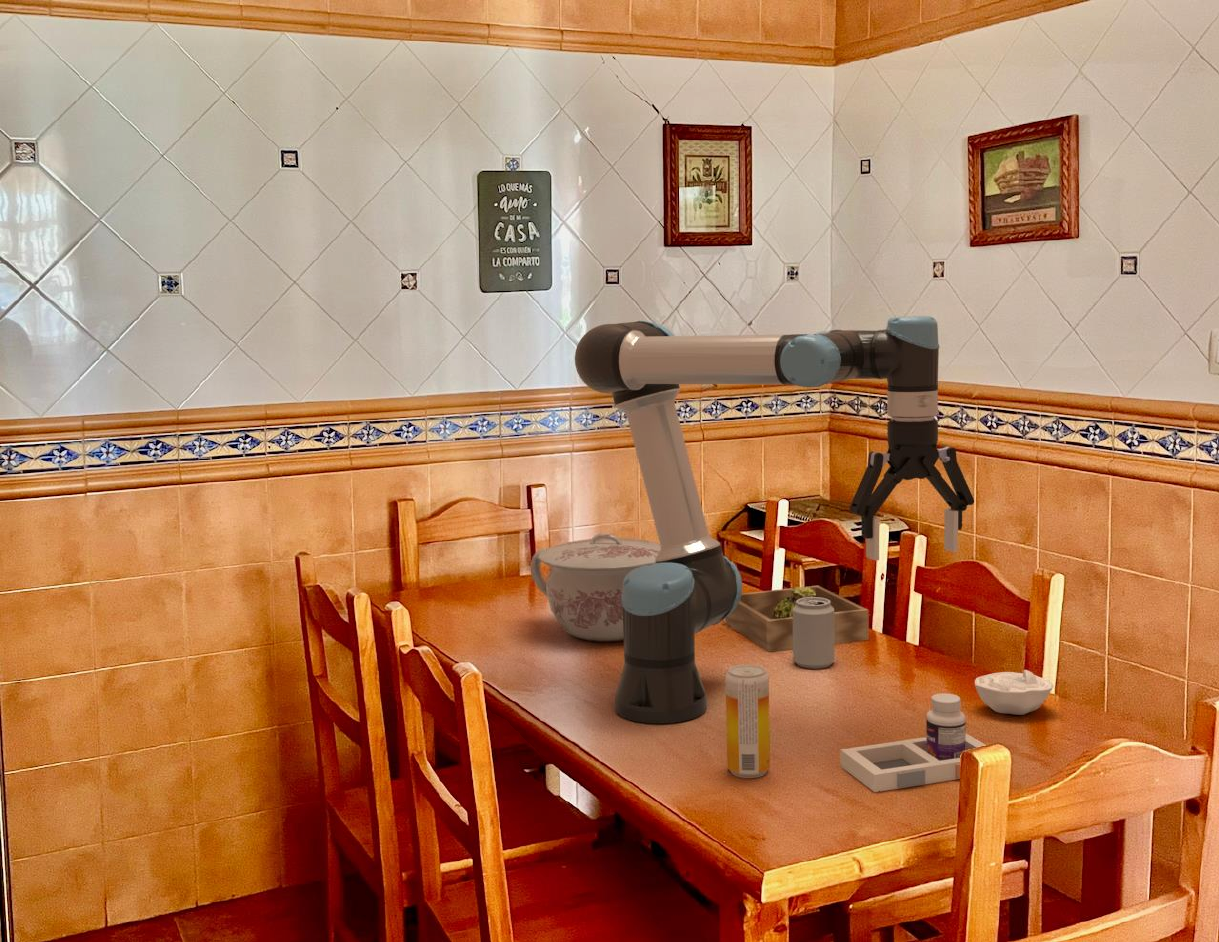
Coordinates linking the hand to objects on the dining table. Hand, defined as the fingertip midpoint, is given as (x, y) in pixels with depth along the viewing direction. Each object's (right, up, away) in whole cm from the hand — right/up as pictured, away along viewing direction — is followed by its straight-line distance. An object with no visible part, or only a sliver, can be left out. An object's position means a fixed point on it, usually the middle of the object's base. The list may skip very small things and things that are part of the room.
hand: (912, 555), depth 191 cm
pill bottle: (+1, -29, -15) cm, 33 cm away
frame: (-10, -19, +57) cm, 60 cm away
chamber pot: (-47, -20, +60) cm, 79 cm away
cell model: (+18, -26, +7) cm, 32 cm away
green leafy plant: (-8, -20, +56) cm, 59 cm away
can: (-10, -23, +35) cm, 43 cm away
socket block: (-3, -29, -16) cm, 33 cm away
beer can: (-27, -30, -15) cm, 43 cm away
